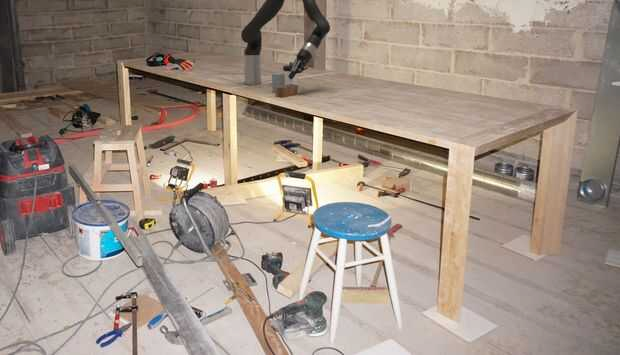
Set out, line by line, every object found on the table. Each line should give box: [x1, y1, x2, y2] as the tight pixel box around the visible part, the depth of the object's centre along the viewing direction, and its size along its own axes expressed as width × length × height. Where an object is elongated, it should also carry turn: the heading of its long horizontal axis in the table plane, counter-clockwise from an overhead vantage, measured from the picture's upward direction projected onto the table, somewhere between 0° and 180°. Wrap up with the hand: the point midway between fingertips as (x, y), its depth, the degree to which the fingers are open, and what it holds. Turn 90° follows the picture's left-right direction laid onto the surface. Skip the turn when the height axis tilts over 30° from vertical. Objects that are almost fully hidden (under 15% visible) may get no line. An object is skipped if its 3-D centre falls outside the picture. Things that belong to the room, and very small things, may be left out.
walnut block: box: [274, 84, 299, 98], centre depth 296 cm, size 5×5×12 cm
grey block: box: [271, 72, 285, 93], centre depth 305 cm, size 5×5×10 cm
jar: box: [282, 64, 299, 86], centre depth 319 cm, size 9×8×12 cm
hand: (290, 78), depth 295 cm, fingers closed
